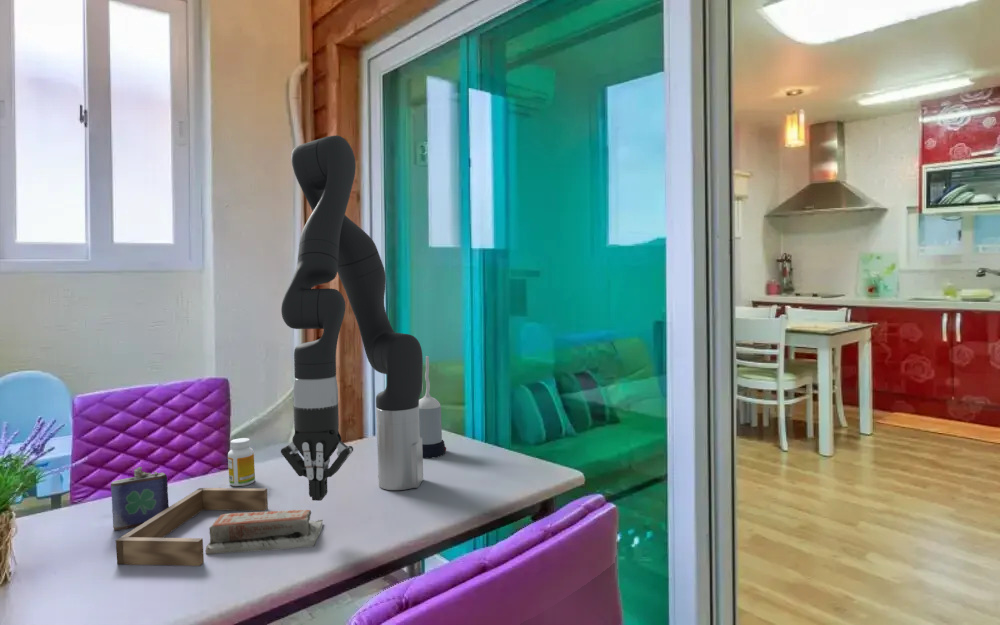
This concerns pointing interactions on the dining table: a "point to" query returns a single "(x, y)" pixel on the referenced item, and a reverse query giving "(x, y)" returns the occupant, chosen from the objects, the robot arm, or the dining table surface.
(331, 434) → the robot arm
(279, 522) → the packaged product
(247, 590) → the dining table surface
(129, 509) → the flask
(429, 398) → the humidifier
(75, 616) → the dining table surface
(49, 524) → the dining table surface
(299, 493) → the dining table surface
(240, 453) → the supplement bottle
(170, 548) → the frame
